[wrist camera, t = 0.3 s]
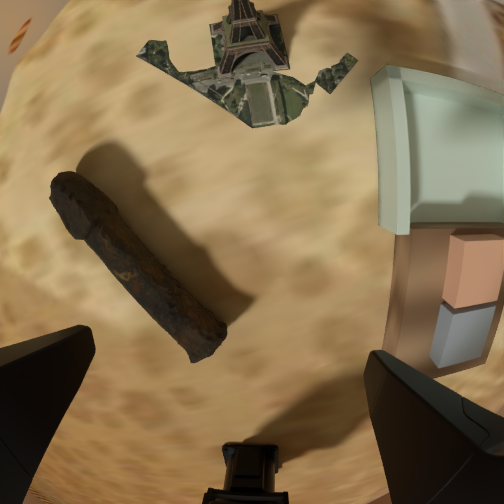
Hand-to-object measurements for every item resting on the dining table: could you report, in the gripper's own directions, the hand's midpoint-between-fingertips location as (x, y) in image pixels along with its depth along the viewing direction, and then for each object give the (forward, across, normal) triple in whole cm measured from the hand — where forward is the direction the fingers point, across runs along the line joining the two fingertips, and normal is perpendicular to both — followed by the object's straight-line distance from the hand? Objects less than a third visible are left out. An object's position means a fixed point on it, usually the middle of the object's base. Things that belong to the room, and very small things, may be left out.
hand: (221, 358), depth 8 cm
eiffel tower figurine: (+15, +1, -15) cm, 21 cm away
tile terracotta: (+11, -17, 0) cm, 21 cm away
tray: (+14, -16, -9) cm, 23 cm away
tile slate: (+11, -18, +5) cm, 22 cm away
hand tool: (+15, +10, +2) cm, 17 cm away
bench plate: (+14, -18, +4) cm, 23 cm away
